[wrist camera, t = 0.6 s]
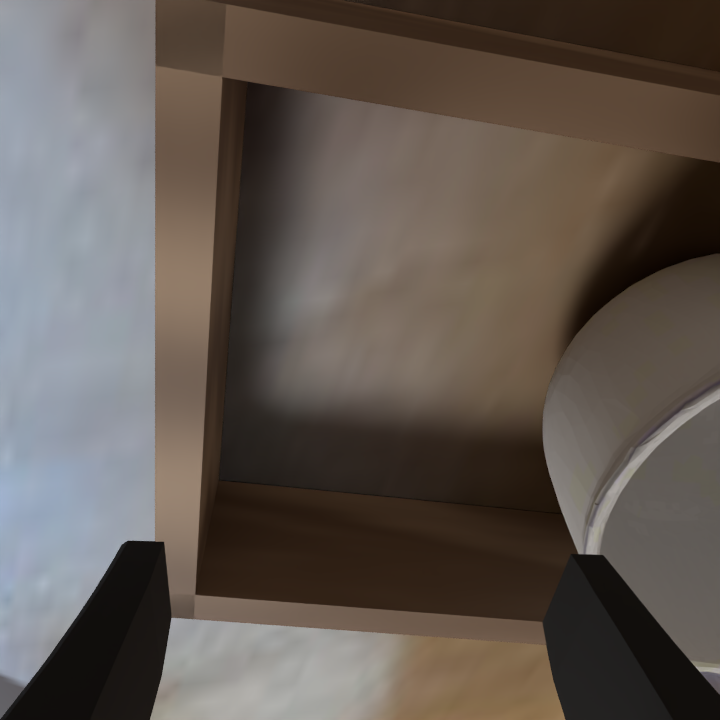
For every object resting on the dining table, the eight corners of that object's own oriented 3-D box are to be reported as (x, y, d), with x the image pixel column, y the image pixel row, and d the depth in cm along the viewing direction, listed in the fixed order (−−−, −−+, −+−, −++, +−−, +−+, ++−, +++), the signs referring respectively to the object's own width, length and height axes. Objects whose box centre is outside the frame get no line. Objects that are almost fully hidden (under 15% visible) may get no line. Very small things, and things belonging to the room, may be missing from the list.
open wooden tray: (775, 556, 28) (853, 667, 24) (185, 500, 25) (155, 616, 21) (1090, 142, 18) (1311, 205, 14) (203, -27, 15) (155, -9, 11)
